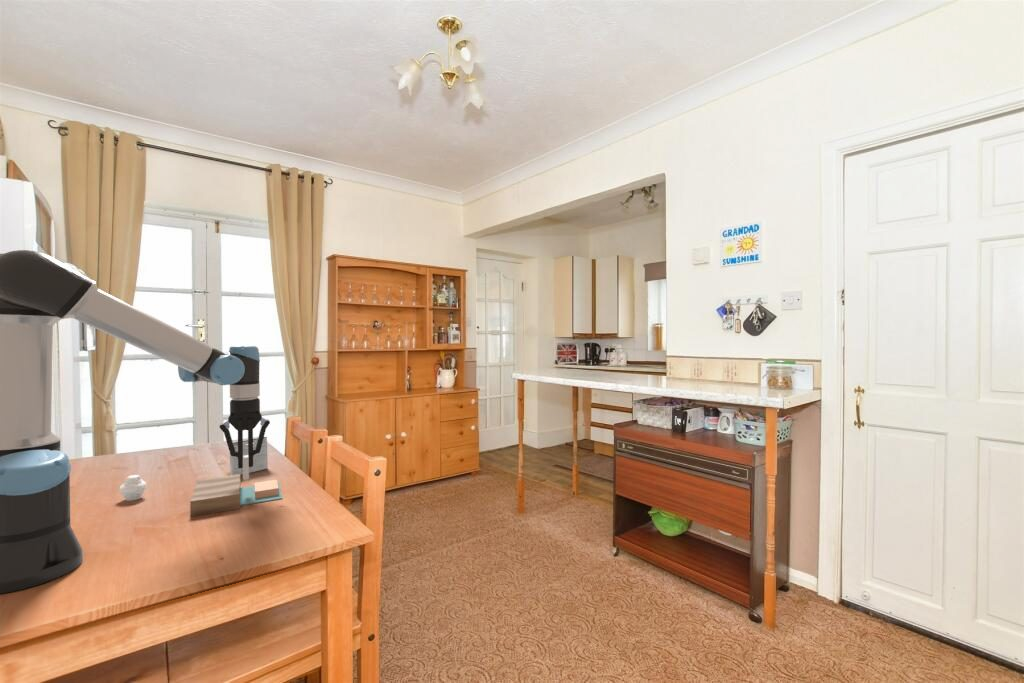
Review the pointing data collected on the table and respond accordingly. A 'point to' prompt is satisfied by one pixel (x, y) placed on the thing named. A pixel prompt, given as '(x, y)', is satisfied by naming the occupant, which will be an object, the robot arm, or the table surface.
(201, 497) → the brown wooden slab
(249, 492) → the mat
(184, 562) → the table surface
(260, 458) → the ink box
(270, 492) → the block
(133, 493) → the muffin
